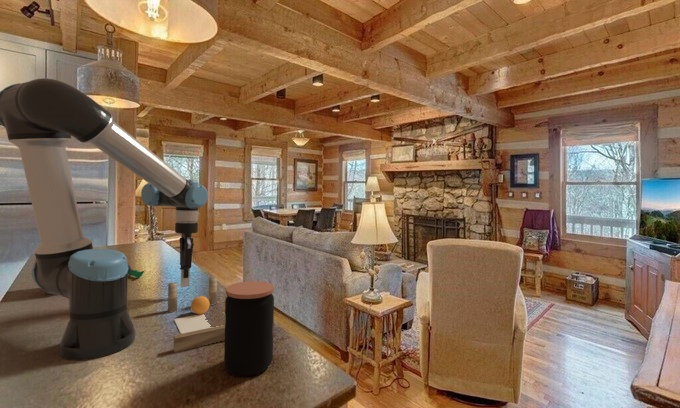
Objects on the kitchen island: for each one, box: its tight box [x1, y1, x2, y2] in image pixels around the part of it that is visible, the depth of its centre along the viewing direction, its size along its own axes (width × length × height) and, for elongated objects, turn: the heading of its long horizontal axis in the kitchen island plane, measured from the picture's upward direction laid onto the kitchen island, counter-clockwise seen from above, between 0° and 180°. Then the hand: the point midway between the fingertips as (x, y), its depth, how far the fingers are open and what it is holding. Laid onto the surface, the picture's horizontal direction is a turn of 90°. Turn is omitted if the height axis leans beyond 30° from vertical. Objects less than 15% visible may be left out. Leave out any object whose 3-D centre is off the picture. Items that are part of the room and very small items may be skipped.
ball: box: [190, 295, 211, 315], centre depth 103 cm, size 6×6×6 cm
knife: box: [128, 264, 146, 279], centre depth 144 cm, size 20×2×5 cm, turn 61°
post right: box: [208, 276, 218, 304], centre depth 112 cm, size 3×3×9 cm
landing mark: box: [173, 313, 212, 334], centre depth 97 cm, size 14×14×1 cm
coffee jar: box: [223, 280, 275, 378], centre depth 74 cm, size 11×11×18 cm
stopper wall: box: [173, 325, 225, 354], centre depth 85 cm, size 2×20×4 cm, turn 125°
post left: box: [167, 282, 178, 313], centre depth 105 cm, size 3×3×9 cm
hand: (184, 286), depth 119 cm, fingers closed
